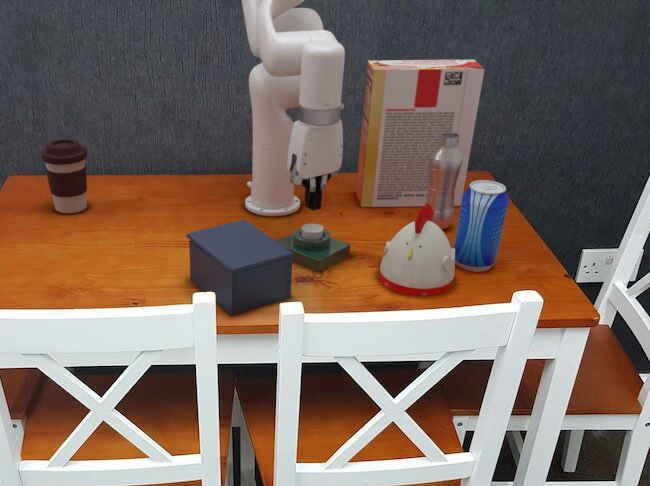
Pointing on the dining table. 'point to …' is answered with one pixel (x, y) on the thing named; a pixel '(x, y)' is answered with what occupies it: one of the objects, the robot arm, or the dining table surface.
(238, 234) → the lid
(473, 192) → the beer can
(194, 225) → the dining table surface
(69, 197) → the coffee cup
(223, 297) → the box
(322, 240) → the push button base
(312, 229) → the white button
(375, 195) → the cereal box
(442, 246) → the kitchen timer
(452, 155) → the plastic bottle
